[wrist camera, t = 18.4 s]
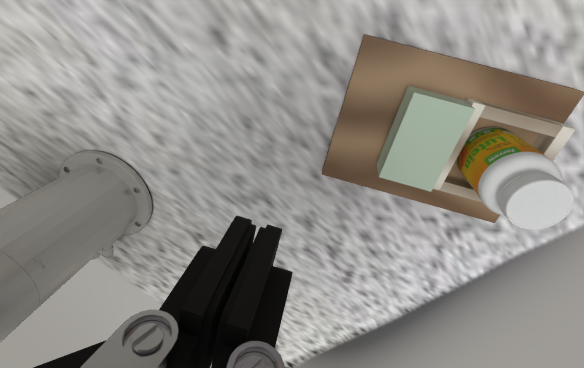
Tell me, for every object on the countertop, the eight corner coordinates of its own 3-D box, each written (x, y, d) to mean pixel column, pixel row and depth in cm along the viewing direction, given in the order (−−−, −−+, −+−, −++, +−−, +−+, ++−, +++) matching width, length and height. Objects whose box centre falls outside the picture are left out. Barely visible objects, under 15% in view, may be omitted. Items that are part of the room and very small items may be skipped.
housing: (424, 176, 31) (431, 191, 28) (376, 163, 31) (378, 177, 29) (463, 100, 27) (475, 108, 25) (408, 85, 27) (414, 92, 25)
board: (490, 216, 34) (502, 234, 31) (322, 169, 34) (319, 182, 32) (576, 89, 27) (602, 97, 24) (364, 34, 28) (365, 35, 25)
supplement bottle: (487, 113, 28) (547, 154, 19) (531, 146, 28) (607, 200, 20) (442, 158, 30) (477, 211, 22) (483, 187, 31) (533, 250, 22)
